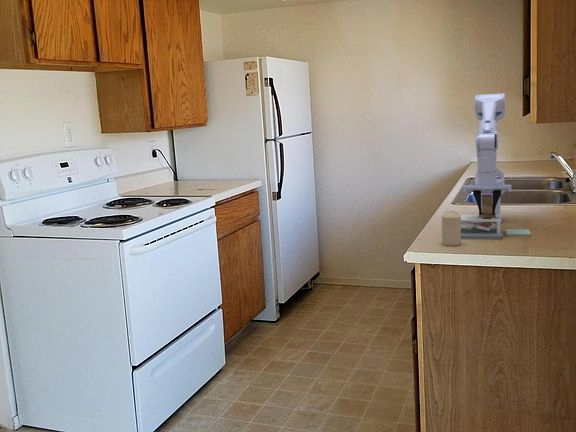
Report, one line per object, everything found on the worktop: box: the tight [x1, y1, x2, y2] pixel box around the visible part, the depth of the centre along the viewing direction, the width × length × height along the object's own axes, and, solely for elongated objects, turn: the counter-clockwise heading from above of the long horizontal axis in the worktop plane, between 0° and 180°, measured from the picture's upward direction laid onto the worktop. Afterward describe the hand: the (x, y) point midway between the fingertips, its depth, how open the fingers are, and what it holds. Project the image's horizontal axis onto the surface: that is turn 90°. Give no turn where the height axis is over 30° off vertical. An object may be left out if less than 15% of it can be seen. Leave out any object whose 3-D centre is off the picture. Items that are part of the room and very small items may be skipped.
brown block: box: [478, 194, 496, 227], centre depth 194 cm, size 5×5×10 cm
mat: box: [505, 228, 532, 237], centre depth 193 cm, size 7×7×1 cm
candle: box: [441, 210, 462, 247], centre depth 184 cm, size 6×6×10 cm
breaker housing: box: [459, 214, 504, 240], centre depth 196 cm, size 14×16×5 cm
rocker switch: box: [461, 222, 491, 231], centre depth 195 cm, size 4×9×1 cm, turn 73°
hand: (486, 214), depth 194 cm, fingers closed on brown block, 3 cm apart
